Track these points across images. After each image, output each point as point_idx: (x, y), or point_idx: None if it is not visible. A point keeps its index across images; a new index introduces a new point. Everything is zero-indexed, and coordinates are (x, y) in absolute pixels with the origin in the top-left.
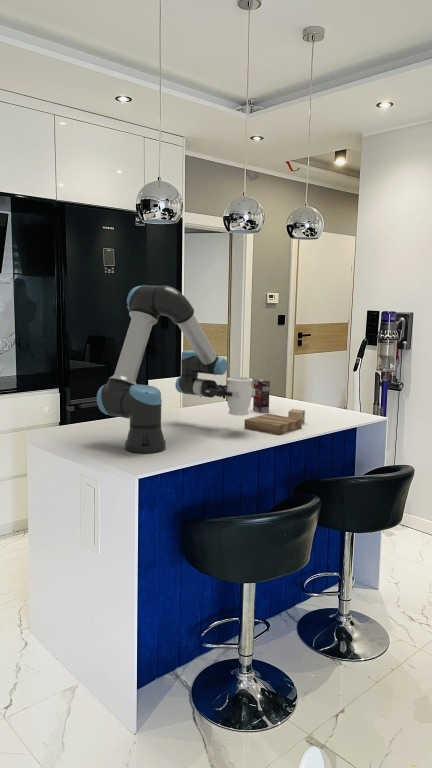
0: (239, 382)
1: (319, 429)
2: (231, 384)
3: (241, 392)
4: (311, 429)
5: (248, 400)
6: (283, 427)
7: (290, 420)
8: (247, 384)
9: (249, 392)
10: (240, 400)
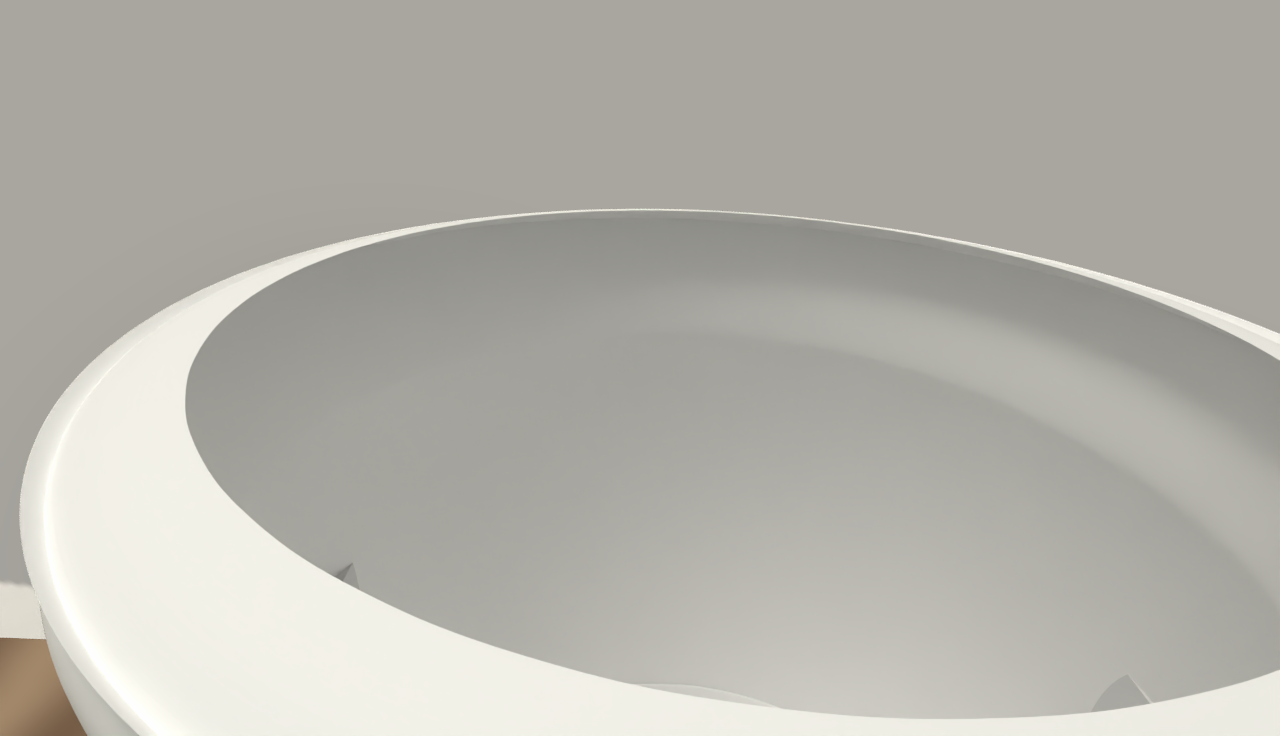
0: (1021, 318)
1: (8, 588)
2: (1236, 568)
3: (905, 539)
4: (19, 630)
5: (677, 647)
6: None
7: (37, 688)
8: (738, 334)
9: (678, 493)
10: (878, 711)
